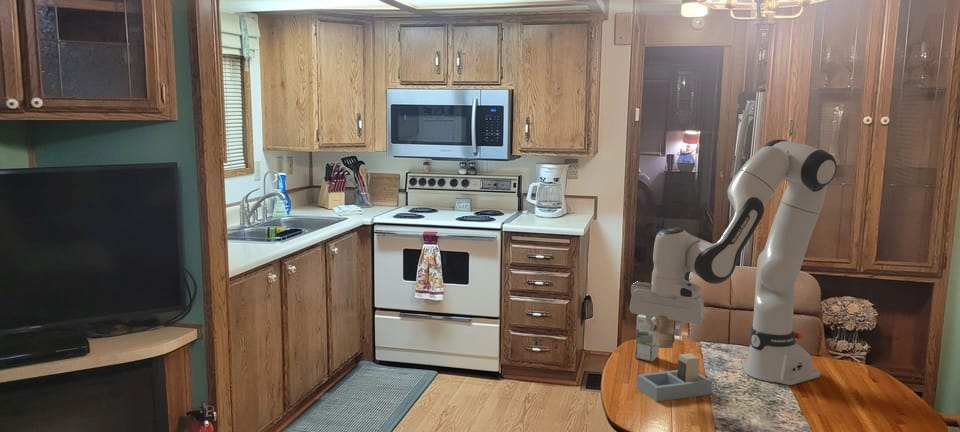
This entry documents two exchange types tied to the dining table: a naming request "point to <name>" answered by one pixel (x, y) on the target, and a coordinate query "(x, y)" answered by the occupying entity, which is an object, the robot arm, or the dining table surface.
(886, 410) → the dining table surface
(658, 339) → the block
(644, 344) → the syrup box
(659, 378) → the divided grey tray
